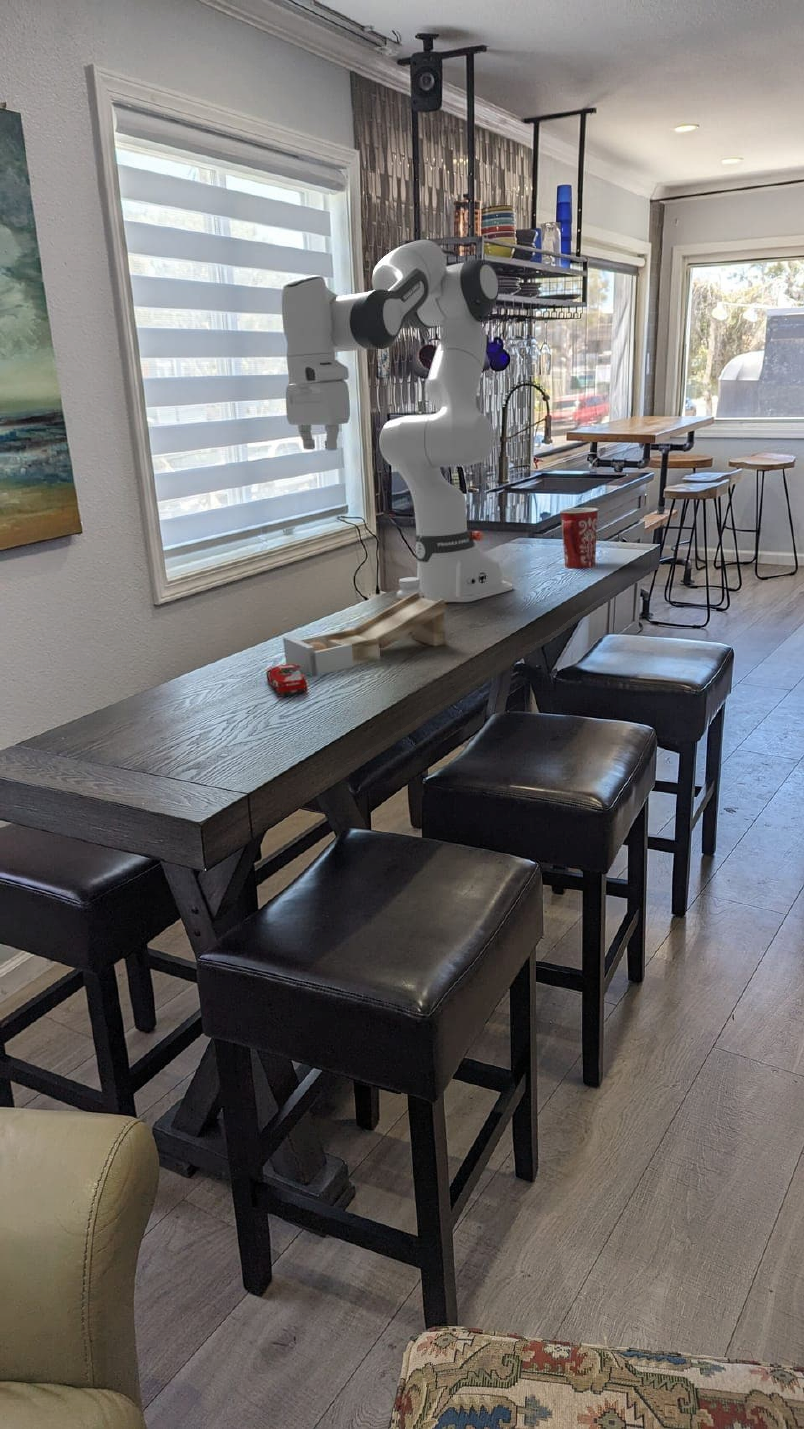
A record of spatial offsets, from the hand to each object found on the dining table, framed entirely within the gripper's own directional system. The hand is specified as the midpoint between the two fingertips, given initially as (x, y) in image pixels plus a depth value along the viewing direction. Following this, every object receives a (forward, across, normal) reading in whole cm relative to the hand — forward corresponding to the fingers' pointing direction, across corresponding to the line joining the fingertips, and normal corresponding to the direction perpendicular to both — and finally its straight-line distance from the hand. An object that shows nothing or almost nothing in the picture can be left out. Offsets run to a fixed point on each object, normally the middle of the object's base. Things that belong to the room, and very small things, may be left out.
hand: (320, 449), depth 184 cm
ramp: (+35, +20, 0) cm, 40 cm away
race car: (+36, +27, -23) cm, 51 cm away
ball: (+33, +20, -14) cm, 41 cm away
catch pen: (+35, +20, -14) cm, 43 cm away
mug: (+35, -12, +71) cm, 81 cm away
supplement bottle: (+35, +9, +12) cm, 38 cm away
